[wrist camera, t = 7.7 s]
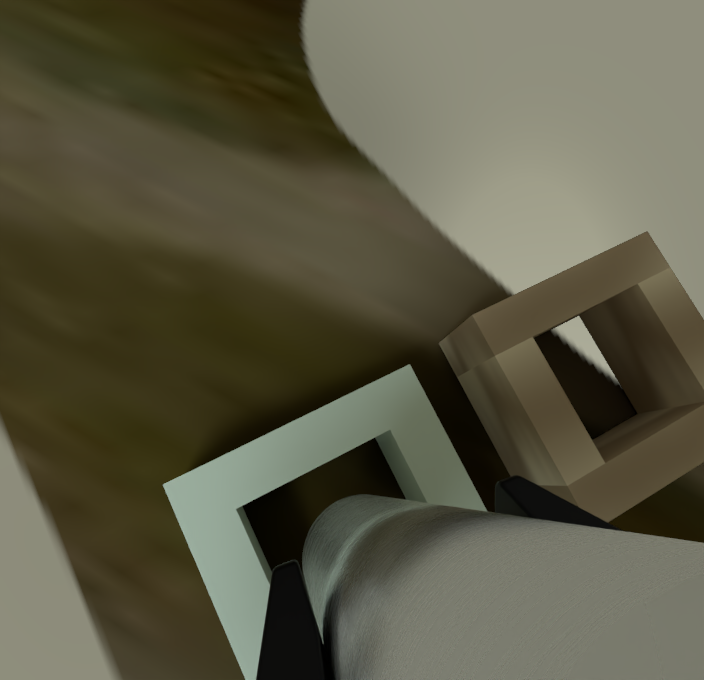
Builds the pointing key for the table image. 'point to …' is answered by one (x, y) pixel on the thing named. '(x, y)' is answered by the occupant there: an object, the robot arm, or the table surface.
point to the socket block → (293, 461)
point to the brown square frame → (625, 362)
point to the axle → (499, 596)
